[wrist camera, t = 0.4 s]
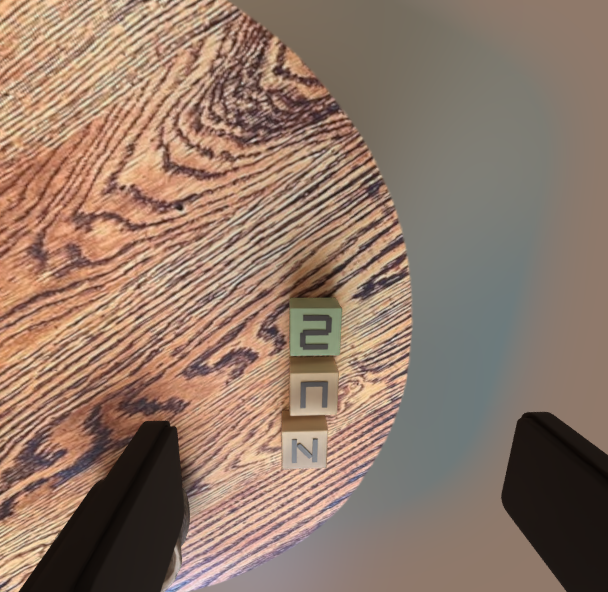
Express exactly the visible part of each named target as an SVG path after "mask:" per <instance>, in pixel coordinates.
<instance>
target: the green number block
mask: <svg viewBox="0 0 608 592" xmlns="http://www.w3.org/2000/svg"><path fill="white" fill-rule="evenodd" d="M341 320H342V307H341V306H340V304H339V302H338V301H337V299H336V298H290V299H289V343H290V356H314V355H340V341H341Z"/></svg>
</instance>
